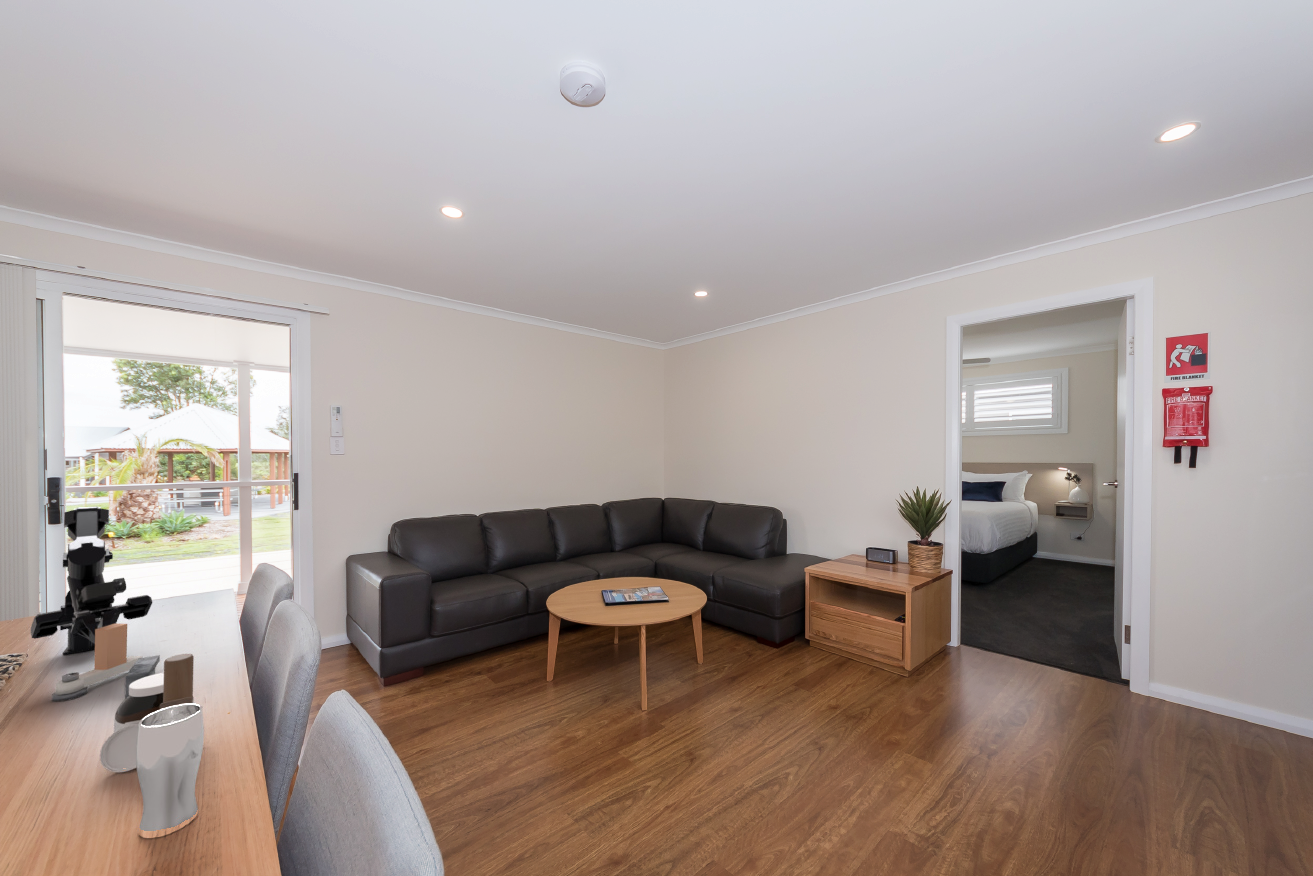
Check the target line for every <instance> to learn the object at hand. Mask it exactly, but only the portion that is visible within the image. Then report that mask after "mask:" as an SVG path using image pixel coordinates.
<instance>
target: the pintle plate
mask: <svg viewBox="0 0 1313 876" xmlns="http://www.w3.org/2000/svg"><path fill="white" fill-rule="evenodd" d="M79 675H80V673H79V672H71V673H66V674H64V675H62V676H61V680H62V682H70V681H74V680H77V679H78V678H79ZM88 687H89V686H87V687H84V688H83V689H81V690H79V691H76V692H73V693H69V694H63V695H57V694H56V691H55V692H54V693H52V694H51V702H54V703H55V702H56V703H57V702H65V701H70V700H74V699H77V698H80V697H83V696H85V695H87V693H88V689H89V688H88Z"/></svg>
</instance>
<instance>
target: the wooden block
mask: <svg viewBox="0 0 1313 876" xmlns="http://www.w3.org/2000/svg"><path fill="white" fill-rule="evenodd" d="M194 658H195V657H194V655H193V653H180V654H176V655H173V656H170V657H167V658H166V659H165V660H164V662H163V673H164V689H163V703H161V704H160V710H161V709H164V708H167V707H171V706H176V705H181V704H193V698H194V696H193V695H194V660H195V659H194Z"/></svg>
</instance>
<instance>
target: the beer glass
mask: <svg viewBox="0 0 1313 876" xmlns="http://www.w3.org/2000/svg"><path fill="white" fill-rule="evenodd" d="M203 715H204V714H203V705H201V704H199V703H194V704H181V705H176V706H171V707H167V708H164V709H161V710H158V711H156V712H153V713H151V714H149V715H147V716H145V717H144V718H143V719H141V720H140V722H139V730H138V737H137V745H136V768H135V769H136V773H137V779H138V783H139V786H140V787H139V788H140V792H141V797H142V804H143V805H142V806H143V807H142V814H141V819H140V824H139V827H138V828H140V829H141V830H144V831H156V830H161V829H166V828H171V827H175V826H177V825H179V824H181V823H182V822H184V821H185V820H188V819H190V818H191V817H193V815H195V814H196V812H197V810H198V811H199V807H198V802H197V799H196V782H197V779H198V778H197V777H198V773H199V769H200V764H201V759H202V755H203V750H204V749H203V748H204V739H205V730H204V729H205V726H204V716H203Z"/></svg>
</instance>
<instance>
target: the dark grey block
mask: <svg viewBox="0 0 1313 876" xmlns="http://www.w3.org/2000/svg"><path fill="white" fill-rule="evenodd" d="M160 656H161V655H160V654H158V655H157V654H156V655H152V656H150V655H149V656H147V657H144V656H143V658H138V660H137V661H136V662H135V664H134V665H133V666H132V668H131V669H130V670H129V671H127V673H126V674H125V684H124V685H125V688H124V690H125V691H124V700H125V699H126V698H127V697H128V696H129V685H130V684H131V683H133V682H134V681H136V680H139V679H141V678H144V677H147V676H151V675H155V674H156V669H157V666H158V665H159V663H160V661H161V660H160Z"/></svg>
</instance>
